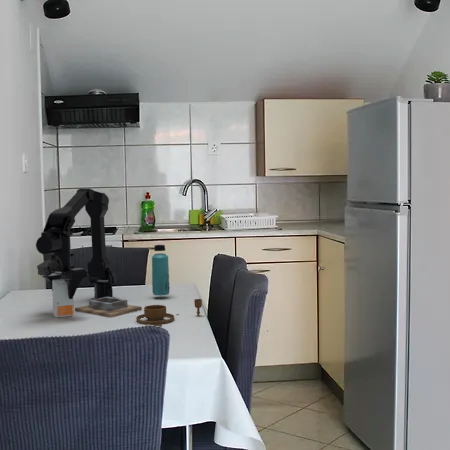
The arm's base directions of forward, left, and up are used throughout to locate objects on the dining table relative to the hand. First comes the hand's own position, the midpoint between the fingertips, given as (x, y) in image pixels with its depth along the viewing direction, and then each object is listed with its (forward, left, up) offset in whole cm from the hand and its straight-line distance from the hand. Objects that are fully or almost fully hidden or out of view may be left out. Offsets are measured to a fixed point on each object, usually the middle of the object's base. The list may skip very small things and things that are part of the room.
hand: (63, 297), depth 200 cm
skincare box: (0, 0, -6) cm, 6 cm away
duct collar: (+6, +14, -6) cm, 16 cm away
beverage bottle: (+6, +40, -6) cm, 41 cm away
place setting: (+33, +14, -7) cm, 37 cm away
